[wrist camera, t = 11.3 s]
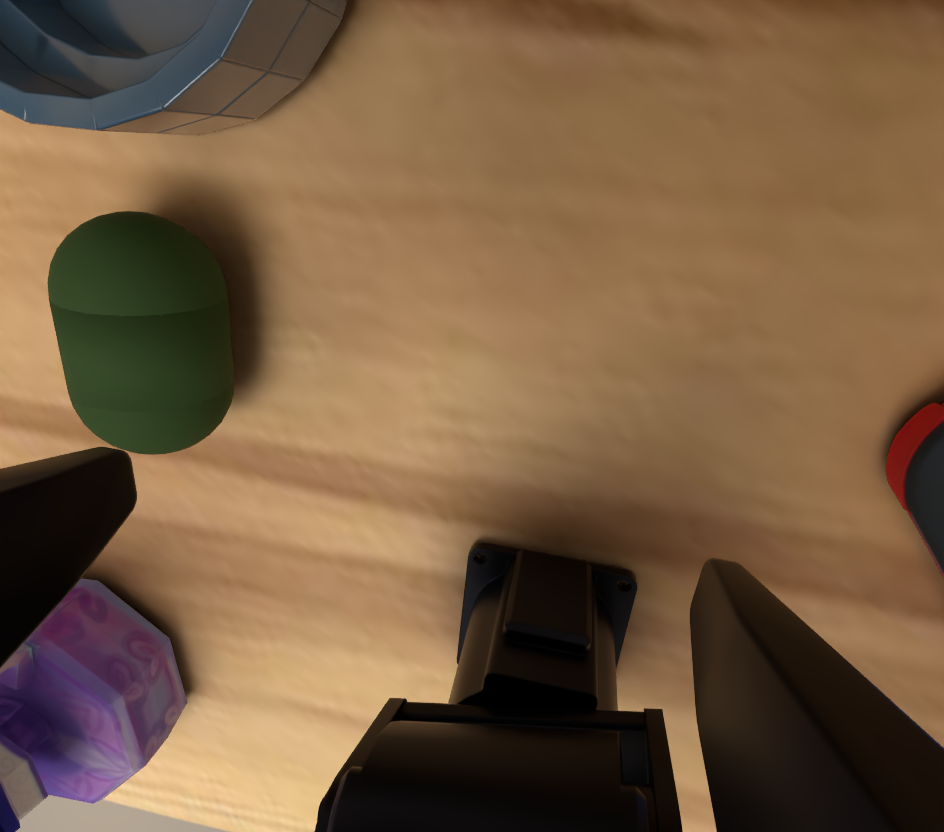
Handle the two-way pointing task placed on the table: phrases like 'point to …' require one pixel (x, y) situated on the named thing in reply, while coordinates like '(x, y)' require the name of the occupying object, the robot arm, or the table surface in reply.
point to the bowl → (157, 60)
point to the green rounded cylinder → (142, 331)
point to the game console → (921, 475)
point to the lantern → (83, 702)
